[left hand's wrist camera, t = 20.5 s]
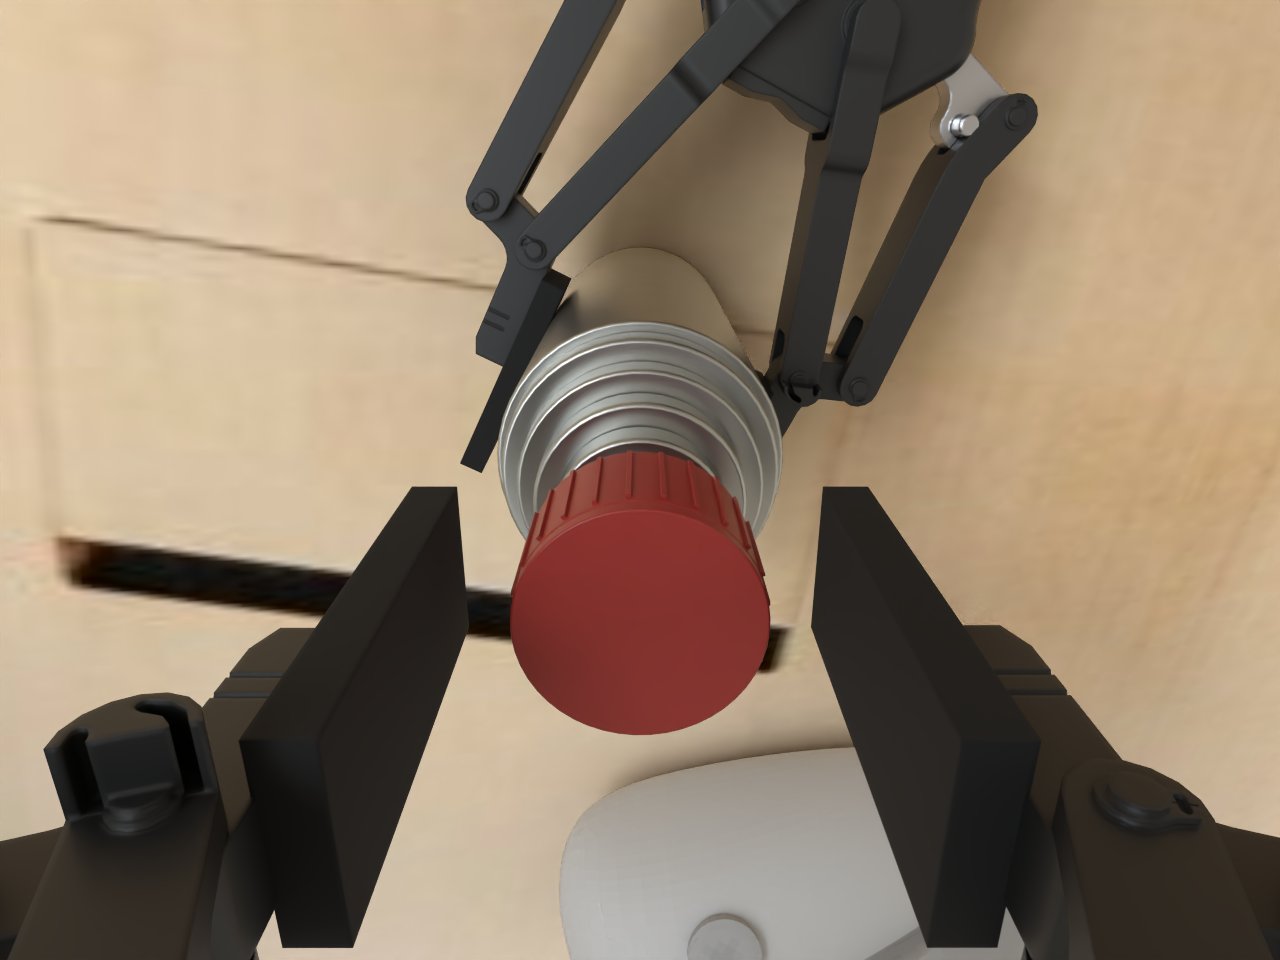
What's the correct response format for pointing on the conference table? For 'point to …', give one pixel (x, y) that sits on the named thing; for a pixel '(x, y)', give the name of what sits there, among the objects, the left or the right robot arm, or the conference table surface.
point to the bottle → (640, 387)
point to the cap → (640, 596)
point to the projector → (745, 869)
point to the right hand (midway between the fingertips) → (575, 496)
